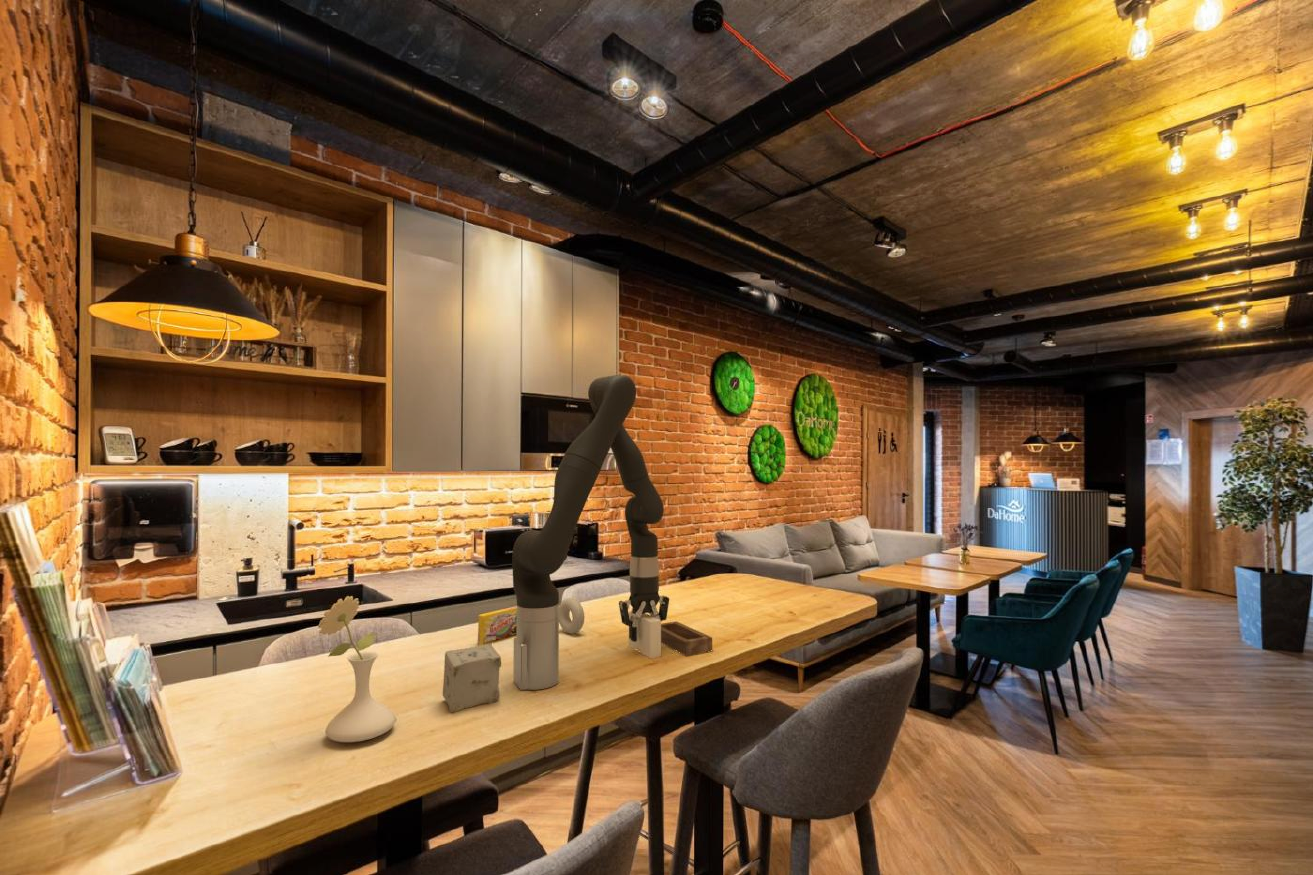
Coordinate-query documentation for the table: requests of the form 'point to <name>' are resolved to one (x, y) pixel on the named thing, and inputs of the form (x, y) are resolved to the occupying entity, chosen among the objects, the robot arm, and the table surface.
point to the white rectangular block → (648, 636)
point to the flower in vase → (363, 712)
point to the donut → (577, 615)
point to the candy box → (497, 626)
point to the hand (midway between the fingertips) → (644, 639)
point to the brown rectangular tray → (684, 638)
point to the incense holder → (471, 677)
